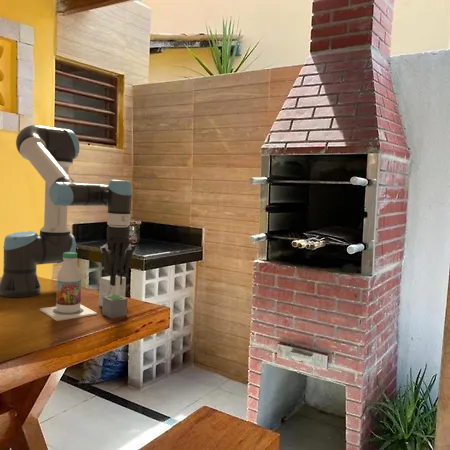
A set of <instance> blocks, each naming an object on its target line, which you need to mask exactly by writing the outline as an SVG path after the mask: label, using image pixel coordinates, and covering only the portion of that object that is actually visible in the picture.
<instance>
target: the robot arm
mask: <svg viewBox="0 0 450 450" xmlns="http://www.w3.org/2000/svg"><path fill="white" fill-rule="evenodd" d="M15 146H16V149H17V152H18V153H19V154H20V156H21V157H22V158H23V159H25V160H27V161H28V162H30V164H31V165H32V167H33V168H34V169H35V170H36V172H37V173H38V174H39V175H40V177H41V178H42V179H43V181H44V182H45V184H44V185H45V187H44V190H45V191H44V218H43V220H44V221H43V223H44V224H43V226H42V227H41V228H40V229H39V234H38V233H37V232H36V231H33V230H32V231H31V230H30V231H19V232H12V233H10V234H8V235H6V236H5V237H4V240H3V241H4V242H3V248H2V249H3V267H2V268H3V272H2V276H1V279H0V296H1V297H5V298H6V297H7V298H27V297H33V296H37V295H39V294H41V293H42V292H41V289H42V286H41V284H40V283H41V282H40V281H39V277H38V274H37V266H38V265H39V266H40V265H49V264H61V263H62V264H63V253H64V252H76V249H77V242H76V238H75V236H74V235H73V234H72V233H71V229H70V228H69V227H68V225H67V224H68V207H70V206H71V207H72V206H73V207H74V206H76V207H79V206H80V207H107V218H106V220H107V221H106V224H107V227H106V241H105V244H103V245H102V246H98V250H99V252H100V254H101V259H102V264H103V269H104V270H103V271H104V273H105V275H108V276H110V285H112V294H113V295H115V296H117V295H119V294H120V285H121V284H122V277H125V275H126V274H128V272H129V268H130V266H131V265H130V264H131V261H132V256H133V253H134V252H135V250H136V248H137V246H135V245H133V244H131V242H130V235H131V232H130V231H131V228H130V225H131V211H132V210H131V209H132V195H133V191H132V182H131V181H130V180H124V179H123V180H121V179H110V180H109V182H108V184H103V183H81V182H79V183H78V182H75V180H74V179H72V177H71V176H70V175H69V173H70V172H69V170H70V169H69V168H70V167H71V166H72V165H73V162H74V160H75V159H77V157H78V156H79V153H80V141H79V139H78V136H77V135H76V133H75V132H74V131H73V130H71V129H67V128H64V127H63V128H62V127H54V126H46V125H42V124H41V125H40V124H32V125H28V126H26V127H23V129H21V130H20V131H19V133H18V134H17V136H16V139H15Z"/></svg>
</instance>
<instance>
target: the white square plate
mask: <svg viewBox="0 0 450 450" xmlns="http://www.w3.org/2000/svg"><path fill="white" fill-rule="evenodd" d="M39 311H40V312H42V313H44V314H45V315H46V316H48V317H50V318H51V319H52V320H54V321H56V322H59V321H65V320H66V321H67V320H72V319H79V318H83V317H91V316H96V315H98V313H97V312H96V311H94V310H92V309H90V308H88V307H86V306H85V305H83V304H82V303H80V310H79V311H78V312H74V313H60V312H58V311H57V310H56V305H55V306H50V307H48V306H47V307H41V308H39Z"/></svg>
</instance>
